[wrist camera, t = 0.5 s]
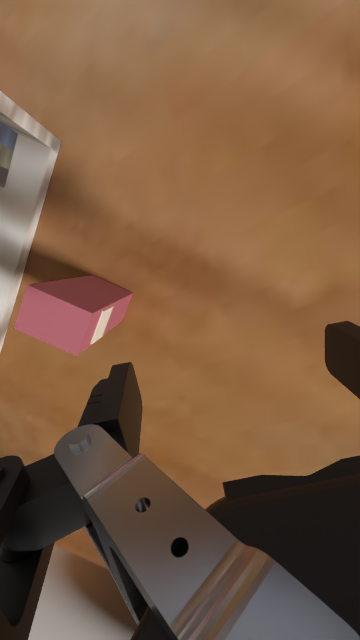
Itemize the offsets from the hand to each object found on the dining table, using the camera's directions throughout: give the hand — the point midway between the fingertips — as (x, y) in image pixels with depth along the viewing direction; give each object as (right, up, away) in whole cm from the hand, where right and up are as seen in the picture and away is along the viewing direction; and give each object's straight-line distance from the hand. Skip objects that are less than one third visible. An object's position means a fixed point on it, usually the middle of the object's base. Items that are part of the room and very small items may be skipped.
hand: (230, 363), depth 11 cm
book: (-10, +4, +20) cm, 23 cm away
